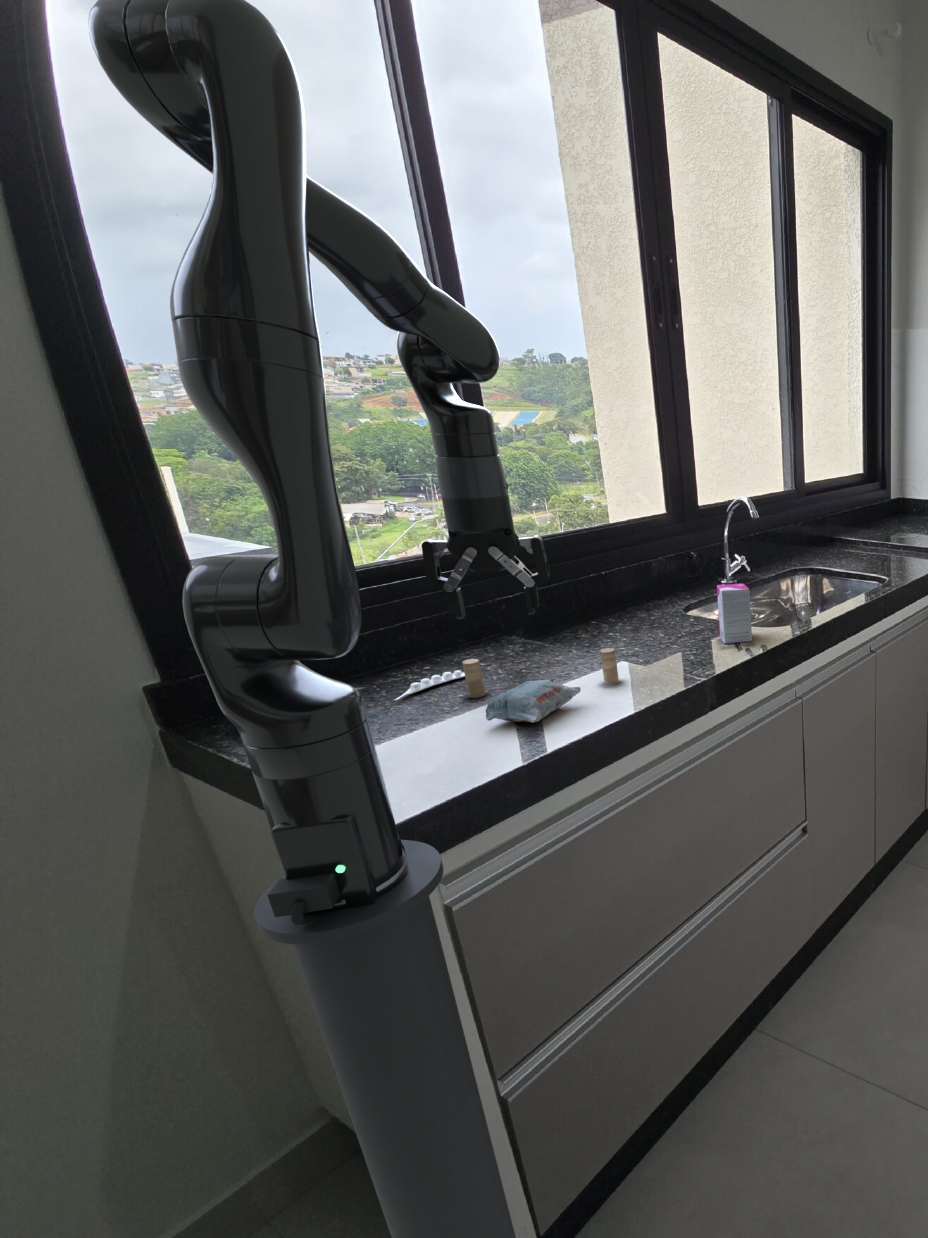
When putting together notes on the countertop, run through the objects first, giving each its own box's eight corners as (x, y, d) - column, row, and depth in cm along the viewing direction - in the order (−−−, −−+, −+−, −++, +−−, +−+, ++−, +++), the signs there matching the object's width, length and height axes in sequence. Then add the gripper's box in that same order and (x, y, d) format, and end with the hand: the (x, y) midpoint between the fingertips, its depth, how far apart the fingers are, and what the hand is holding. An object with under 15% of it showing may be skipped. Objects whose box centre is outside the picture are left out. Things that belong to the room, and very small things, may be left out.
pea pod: (469, 670, 133) (467, 662, 133) (484, 675, 131) (482, 666, 131) (381, 697, 121) (378, 688, 121) (396, 703, 119) (394, 694, 118)
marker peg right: (618, 684, 128) (614, 651, 126) (604, 685, 128) (599, 652, 125) (619, 679, 130) (615, 647, 128) (604, 680, 130) (600, 648, 128)
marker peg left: (484, 697, 122) (477, 662, 120) (467, 698, 121) (460, 664, 119) (486, 691, 124) (480, 658, 122) (470, 693, 123) (463, 659, 121)
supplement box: (753, 643, 151) (749, 588, 147) (724, 646, 148) (719, 591, 144) (747, 635, 156) (744, 582, 152) (719, 638, 153) (714, 584, 149)
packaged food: (582, 703, 120) (578, 675, 118) (536, 733, 109) (530, 702, 107) (535, 700, 121) (529, 672, 120) (484, 729, 110) (477, 699, 109)
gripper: (402, 497, 88) (430, 627, 94) (532, 494, 93) (552, 618, 98) (418, 490, 95) (443, 612, 100) (539, 488, 99) (557, 604, 105)
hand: (497, 615), depth 99 cm, fingers open, 8 cm apart
